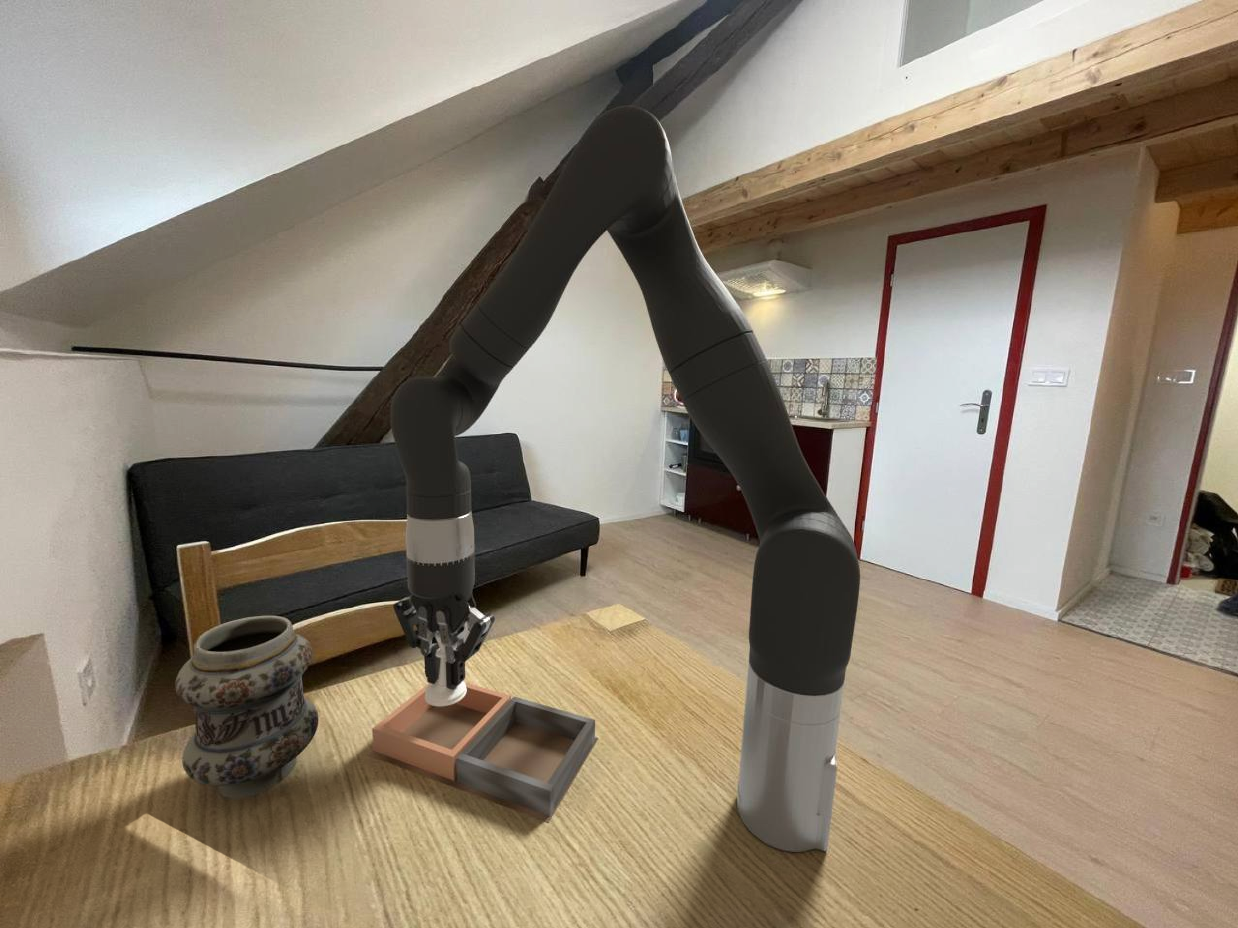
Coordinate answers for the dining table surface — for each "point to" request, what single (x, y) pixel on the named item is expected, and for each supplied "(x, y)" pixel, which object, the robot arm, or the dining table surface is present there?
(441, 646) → the chess piece
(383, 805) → the dining table surface
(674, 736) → the dining table surface
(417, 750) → the orange square tray
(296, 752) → the apothecary jar
